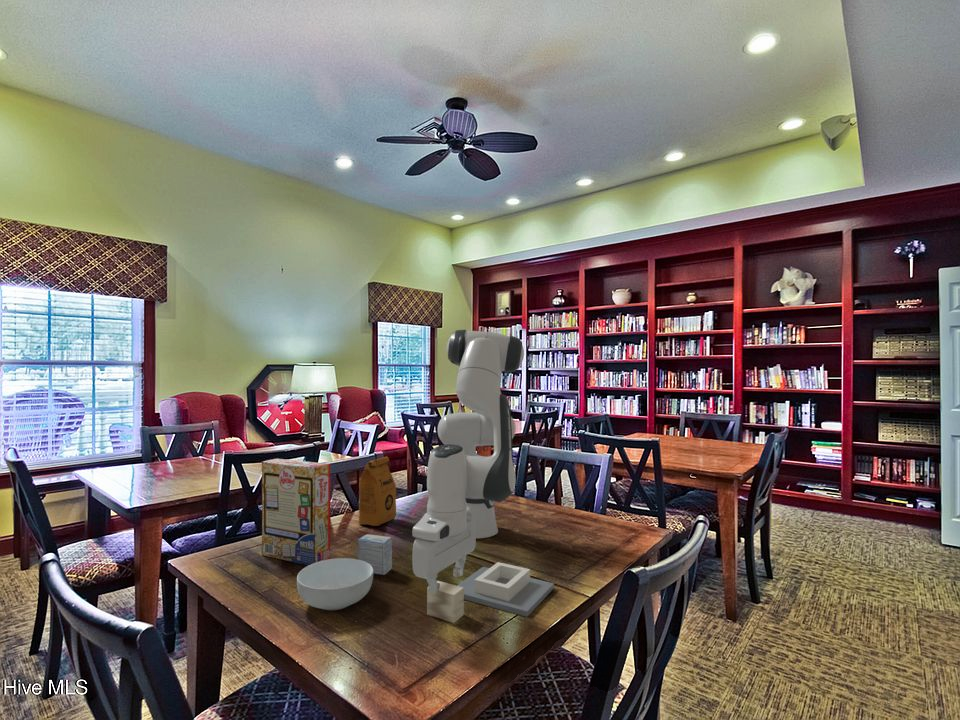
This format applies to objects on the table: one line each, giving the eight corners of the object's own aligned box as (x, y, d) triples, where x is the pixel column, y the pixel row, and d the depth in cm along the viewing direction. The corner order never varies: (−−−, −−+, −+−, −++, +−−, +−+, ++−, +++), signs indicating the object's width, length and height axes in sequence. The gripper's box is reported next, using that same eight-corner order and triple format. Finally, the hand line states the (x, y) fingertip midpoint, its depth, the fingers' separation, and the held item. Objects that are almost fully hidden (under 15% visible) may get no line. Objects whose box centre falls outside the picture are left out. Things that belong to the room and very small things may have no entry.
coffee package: (400, 519, 176) (401, 456, 176) (377, 529, 165) (377, 463, 165) (378, 515, 181) (379, 454, 181) (354, 525, 170) (354, 460, 170)
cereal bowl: (299, 627, 105) (299, 593, 105) (294, 593, 120) (294, 564, 120) (380, 611, 111) (380, 580, 111) (365, 581, 127) (366, 553, 127)
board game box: (331, 560, 140) (331, 463, 140) (315, 568, 134) (315, 467, 134) (277, 548, 148) (277, 457, 148) (259, 556, 143) (260, 461, 143)
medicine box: (392, 569, 134) (392, 536, 134) (383, 576, 130) (384, 542, 130) (366, 565, 137) (366, 533, 137) (357, 571, 132) (357, 538, 132)
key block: (427, 614, 110) (427, 587, 110) (437, 607, 114) (437, 580, 114) (453, 623, 107) (454, 595, 107) (463, 614, 110) (463, 587, 110)
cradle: (450, 595, 119) (450, 577, 119) (482, 571, 133) (482, 555, 133) (527, 616, 109) (527, 597, 109) (553, 588, 123) (553, 571, 123)
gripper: (459, 507, 121) (459, 564, 120) (407, 531, 103) (406, 598, 103) (482, 510, 118) (482, 570, 117) (432, 536, 100) (432, 606, 100)
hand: (446, 583), depth 110 cm, fingers open, 8 cm apart
